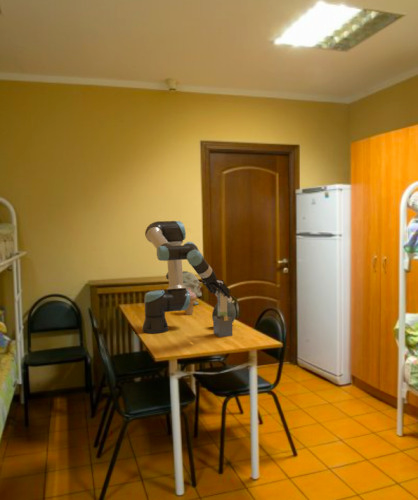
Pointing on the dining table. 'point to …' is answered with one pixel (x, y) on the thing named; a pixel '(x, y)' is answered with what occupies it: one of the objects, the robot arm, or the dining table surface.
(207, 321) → the dining table surface
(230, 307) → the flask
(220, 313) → the column
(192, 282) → the sculpture
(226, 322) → the stand base
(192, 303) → the ice cream cone
